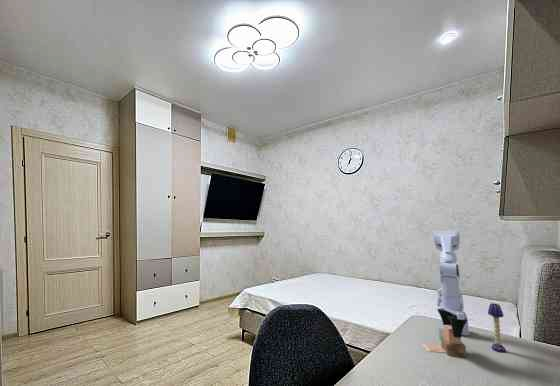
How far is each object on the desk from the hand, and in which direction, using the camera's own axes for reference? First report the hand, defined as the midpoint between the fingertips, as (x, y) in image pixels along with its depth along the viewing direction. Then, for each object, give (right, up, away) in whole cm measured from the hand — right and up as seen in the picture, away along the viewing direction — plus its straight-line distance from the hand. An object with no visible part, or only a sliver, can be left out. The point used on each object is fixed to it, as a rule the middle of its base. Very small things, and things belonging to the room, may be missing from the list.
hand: (452, 333), depth 99 cm
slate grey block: (+3, -8, +8) cm, 11 cm away
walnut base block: (0, -7, -1) cm, 7 cm away
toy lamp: (+18, -7, +2) cm, 20 cm away
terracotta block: (0, -3, 0) cm, 3 cm away
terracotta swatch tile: (-6, -7, +2) cm, 9 cm away
